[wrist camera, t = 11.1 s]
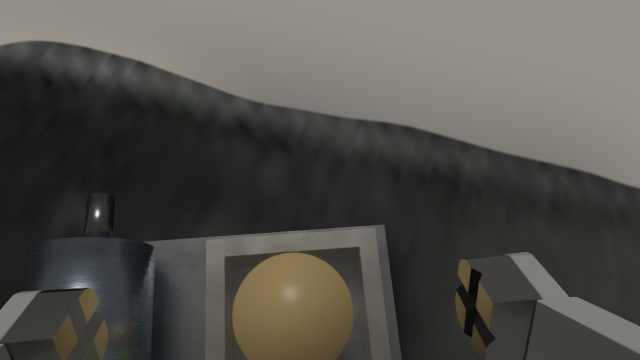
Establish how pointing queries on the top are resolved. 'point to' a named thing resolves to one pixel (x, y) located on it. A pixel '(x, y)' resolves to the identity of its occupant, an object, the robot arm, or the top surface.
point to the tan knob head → (292, 310)
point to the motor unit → (208, 285)
